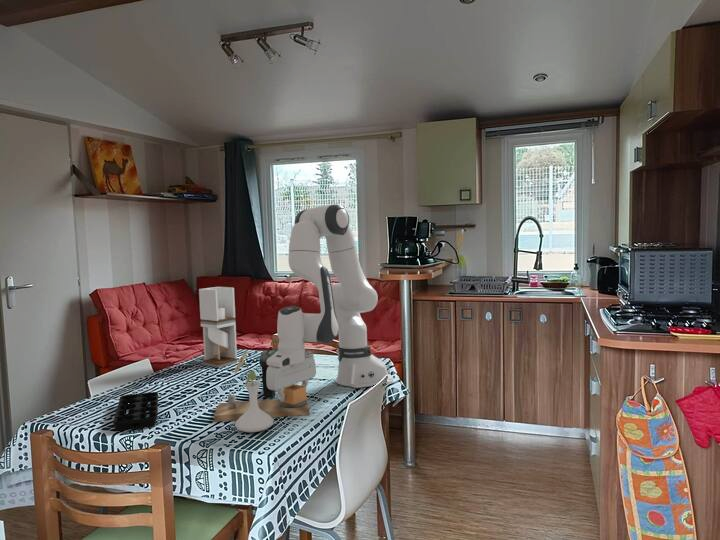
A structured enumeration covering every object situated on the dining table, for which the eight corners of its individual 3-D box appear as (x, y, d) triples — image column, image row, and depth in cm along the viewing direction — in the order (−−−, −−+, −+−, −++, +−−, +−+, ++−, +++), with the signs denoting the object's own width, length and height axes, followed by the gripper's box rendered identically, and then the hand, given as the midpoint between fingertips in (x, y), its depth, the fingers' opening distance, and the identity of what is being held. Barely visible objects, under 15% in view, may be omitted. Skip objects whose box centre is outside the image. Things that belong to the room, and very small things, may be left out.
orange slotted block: (293, 396, 175) (293, 383, 175) (306, 399, 172) (305, 386, 171) (280, 401, 170) (280, 388, 170) (293, 404, 167) (293, 391, 166)
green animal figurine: (272, 400, 182) (270, 344, 180) (256, 399, 184) (254, 343, 182) (295, 384, 201) (293, 333, 199) (280, 383, 202) (278, 333, 201)
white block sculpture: (202, 364, 236) (198, 289, 233) (220, 359, 244) (217, 286, 242) (219, 367, 229) (215, 290, 227) (237, 362, 238) (233, 287, 235)
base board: (308, 402, 178) (307, 382, 177) (309, 414, 166) (308, 393, 165) (219, 409, 174) (218, 388, 173) (214, 421, 162) (213, 400, 161)
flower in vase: (247, 420, 162) (243, 342, 160) (280, 423, 159) (277, 343, 157) (225, 436, 150) (221, 352, 148) (260, 439, 146) (256, 353, 145)
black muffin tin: (156, 399, 188) (155, 389, 187) (176, 423, 162) (175, 412, 162) (103, 409, 178) (102, 398, 178) (115, 436, 153) (115, 424, 153)
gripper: (306, 348, 180) (307, 387, 181) (262, 361, 164) (264, 403, 165) (319, 350, 176) (320, 390, 177) (276, 363, 160) (277, 406, 161)
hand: (293, 396), depth 171 cm, fingers open, 8 cm apart
